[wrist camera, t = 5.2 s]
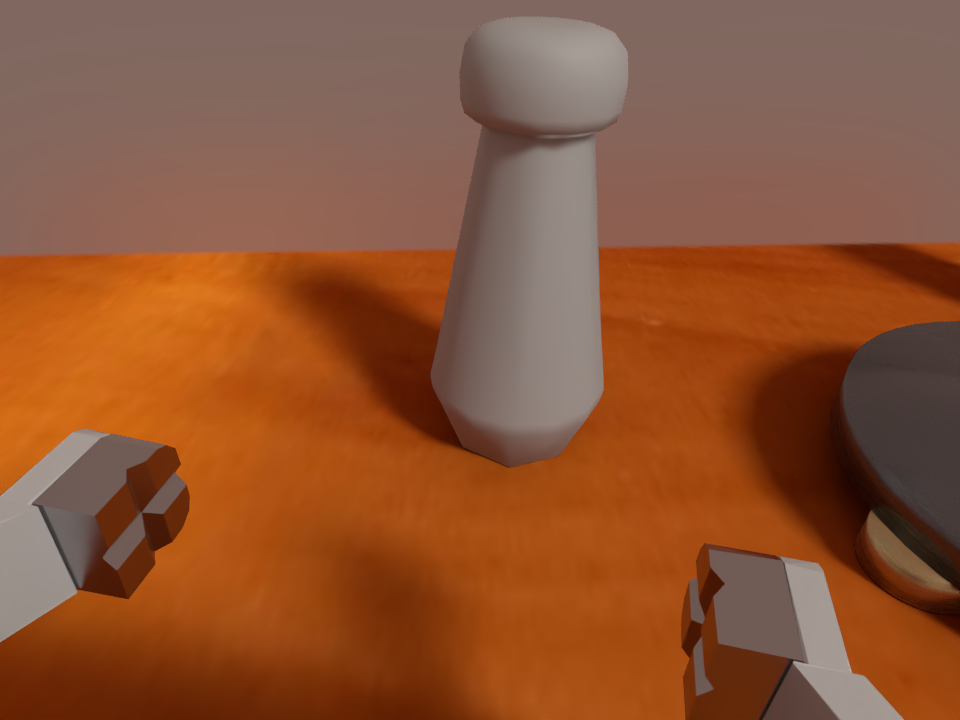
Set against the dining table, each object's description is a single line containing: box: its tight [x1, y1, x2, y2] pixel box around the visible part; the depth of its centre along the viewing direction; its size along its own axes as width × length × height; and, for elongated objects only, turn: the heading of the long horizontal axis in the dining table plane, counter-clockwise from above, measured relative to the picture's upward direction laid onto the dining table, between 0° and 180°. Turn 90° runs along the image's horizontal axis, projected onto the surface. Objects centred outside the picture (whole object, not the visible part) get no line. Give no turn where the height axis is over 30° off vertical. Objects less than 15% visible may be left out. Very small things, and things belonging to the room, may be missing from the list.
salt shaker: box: [430, 17, 628, 468], centre depth 20 cm, size 6×6×13 cm
